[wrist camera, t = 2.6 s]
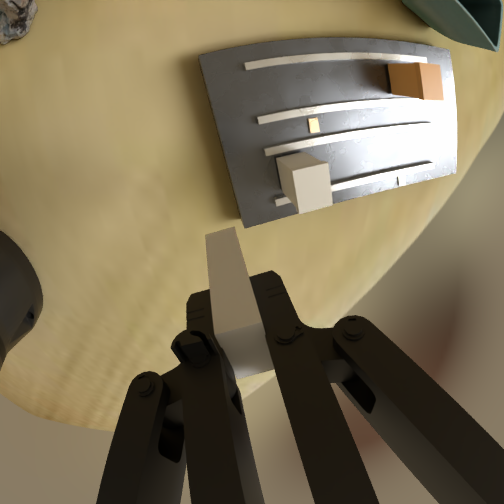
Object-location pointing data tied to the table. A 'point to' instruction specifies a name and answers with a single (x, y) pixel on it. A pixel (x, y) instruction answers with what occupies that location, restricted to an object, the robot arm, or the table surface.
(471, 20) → the flower pot
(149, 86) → the table surface
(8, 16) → the mineral specimen
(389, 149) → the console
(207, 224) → the table surface
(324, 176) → the fader ivory
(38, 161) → the table surface
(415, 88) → the fader orange
